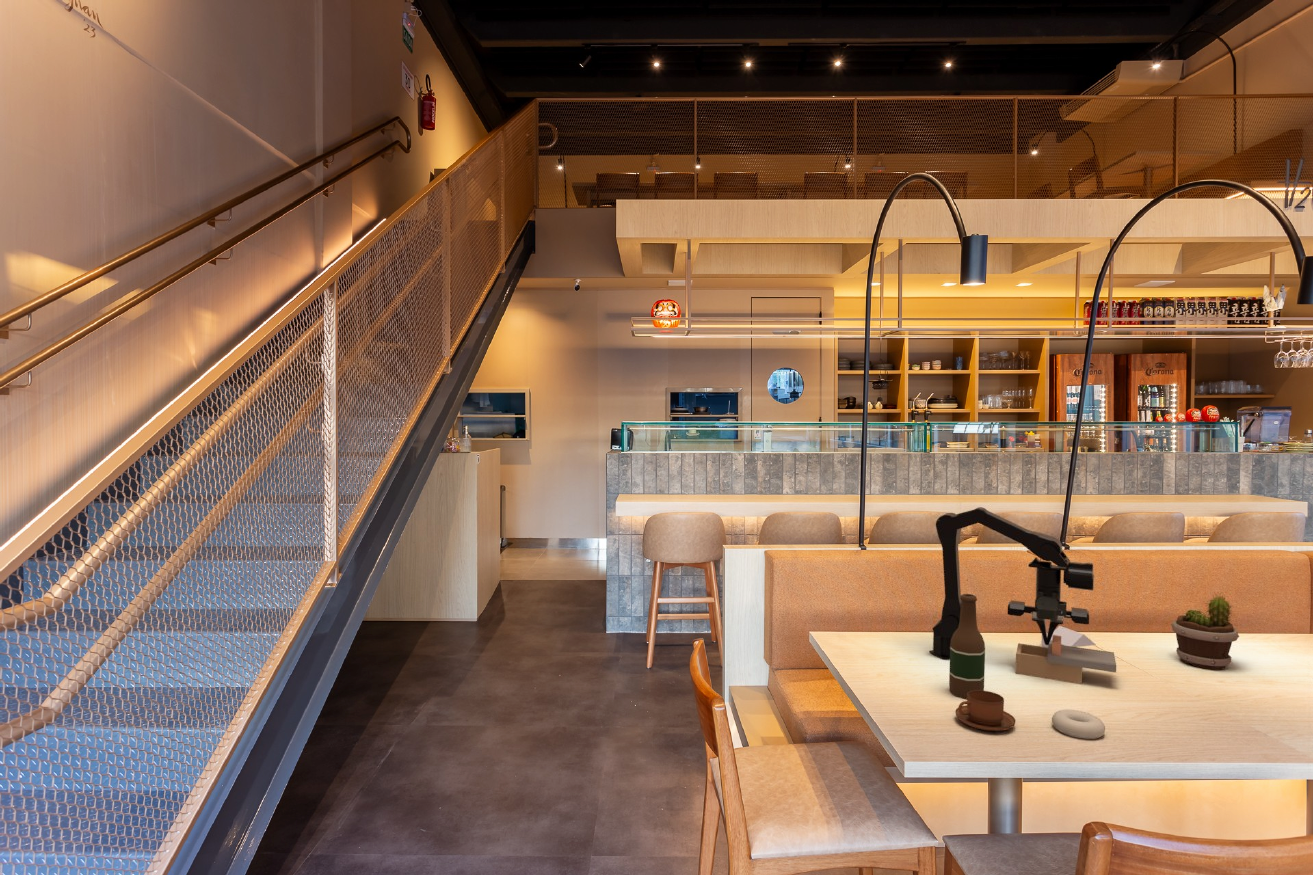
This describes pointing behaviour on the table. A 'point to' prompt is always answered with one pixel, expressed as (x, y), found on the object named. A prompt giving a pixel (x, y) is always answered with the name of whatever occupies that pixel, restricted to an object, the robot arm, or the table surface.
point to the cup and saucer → (985, 711)
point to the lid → (1080, 656)
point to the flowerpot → (1206, 635)
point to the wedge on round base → (1070, 638)
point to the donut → (1078, 724)
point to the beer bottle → (967, 652)
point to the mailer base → (1044, 665)
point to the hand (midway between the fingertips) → (1046, 644)
